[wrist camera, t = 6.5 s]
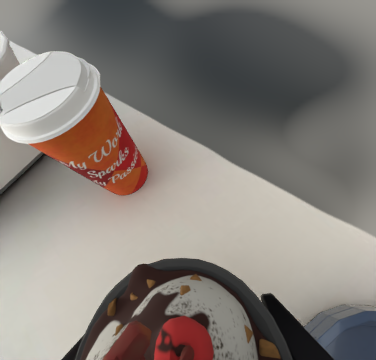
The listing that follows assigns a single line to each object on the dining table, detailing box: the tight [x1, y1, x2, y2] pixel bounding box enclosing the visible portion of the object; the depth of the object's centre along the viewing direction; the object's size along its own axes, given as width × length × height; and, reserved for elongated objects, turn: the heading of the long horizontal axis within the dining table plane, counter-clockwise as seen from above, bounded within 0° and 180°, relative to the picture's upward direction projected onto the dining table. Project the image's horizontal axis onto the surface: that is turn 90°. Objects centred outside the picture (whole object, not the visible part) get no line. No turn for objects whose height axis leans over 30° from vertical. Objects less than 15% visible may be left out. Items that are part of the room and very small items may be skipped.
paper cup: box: [0, 51, 148, 195], centre depth 20 cm, size 8×8×14 cm
